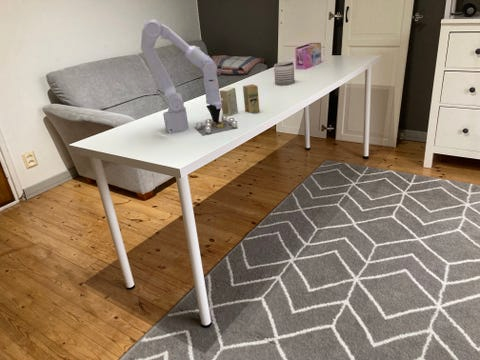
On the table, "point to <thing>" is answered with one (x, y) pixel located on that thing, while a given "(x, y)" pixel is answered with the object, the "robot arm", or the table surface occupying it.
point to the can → (284, 73)
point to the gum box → (308, 55)
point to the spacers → (209, 124)
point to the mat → (215, 129)
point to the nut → (220, 125)
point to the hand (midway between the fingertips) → (216, 121)
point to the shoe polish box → (251, 99)
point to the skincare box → (229, 101)
